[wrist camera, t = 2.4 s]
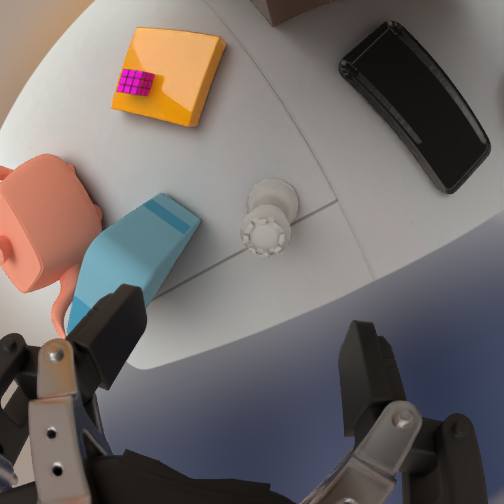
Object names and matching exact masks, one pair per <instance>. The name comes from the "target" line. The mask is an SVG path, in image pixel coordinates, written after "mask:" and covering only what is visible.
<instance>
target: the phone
mask: <svg viewBox="0 0 504 504" xmlns="http://www.w3.org/2000/svg"><path fill="white" fill-rule="evenodd" d="M339 71H340V74H341V75H342V76H343V78H344V79H345V80H346V81H348V82H349V83H350V84H351V85H352V86H353V87H354V88H355V89H356V90H357V91H358V92H359V93H360V94H361V95H362V96H363V97H364V98H365V99H366V100H367V101H368V102H369V103H370V104H371V105H372V106H373V108H374V109H375V110H376V111H377V112H378V113H379V114H380V115H381V116H382V117H383V118H384V120H385V121H386V122H387V123H388V124H389V125H390V126H391V128H392V129H393V130H394V131H395V132H396V133H397V135H398V136H399V137H400V138H401V139H402V141H403V142H404V143H405V144H406V146H407V147H408V148H409V149H410V151H411V152H412V153H413V155H414V156H415V157H416V159H417V160H418V161H419V163H420V164H421V165H422V167H423V168H424V169H425V171H426V172H427V174H428V175H429V177H430V178H431V179H432V181H433V182H434V184H435V185H436V187H437V188H438V189H439V190H441V191H442V192H444V193H446V194H453V193H454V192H456V191H457V190H458V189H459V188H460V186H461V185H462V184H463V183H464V182H465V181H466V180H467V179H468V178H469V177H470V176H471V175H472V174H473V172H474V171H475V170H476V169H477V168H478V167H479V166H480V165H481V164H482V162H483V161H484V160H485V159H486V158H487V157H488V155H489V154H490V151H491V144H490V141H489V138H488V137H487V135H486V133H485V131H484V130H483V128H482V126H481V124H480V123H479V121H478V119H477V118H476V116H475V115H474V113H473V111H472V110H471V108H470V107H469V105H468V104H467V102H466V101H465V99H464V98H463V96H462V95H461V94H460V92H459V91H458V89H457V88H456V87H455V85H454V84H453V83H452V81H451V80H450V79H449V77H448V76H447V75H446V74H445V72H444V71H443V70H442V69H441V67H440V66H439V65H438V64H437V62H436V61H435V60H434V59H433V58H432V57H431V55H430V54H429V53H428V52H427V51H426V50H425V49H424V48H423V47H422V45H421V44H420V43H419V42H418V41H417V40H416V39H415V38H414V37H413V36H412V35H411V34H410V33H409V32H408V31H407V30H406V29H405V28H404V27H403V26H402V25H401V24H399V23H397V22H395V21H386V22H385V23H383V24H382V25H381V26H380V27H378V28H377V29H376V30H375V31H374V32H372V33H371V34H370V35H369V36H368V37H367V38H365V39H364V40H363V41H362V42H361V43H360V44H358V45H357V46H356V47H355V48H354V49H353V50H352V51H351V52H349V53H348V54H347V55H346V56H345V57H344V58H343V59H342V61H341V62H340V64H339Z"/></svg>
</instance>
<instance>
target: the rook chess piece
mask: <svg viewBox="0 0 504 504" xmlns="http://www.w3.org/2000/svg"><path fill="white" fill-rule="evenodd" d="M246 205H247V213H248V215H247V216H246V217H245V218H244V219H243V221H242V225H241V228H240V232H241V238H242V240H243V242H244V244H245V245H246V247H248V250H249V251H251V252H252V253H253V254H255V253H257V254H260V255H262V257H269V256H270V255H274V254H277V253H279V252H281V251H282V250H283V249H284V248H285V247H286V246H287V245H288V243H289V240H290V238H291V227H290V224H291V223H292V222H293V221H294V220H295V217H296V215H297V212H298V209H299V201H298V196H297V194H296V192H295V190H294V188H292V187H291V186H290V185H289V184H288V183H287V182H285V181H282V180H279V179H265V180H263V181H261V182H258V183H256V185H255V186H254V187H253V188H252V189H251V190H250V192H249V196H248V199H247V202H246Z"/></svg>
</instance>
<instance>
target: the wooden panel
mask: <svg viewBox="0 0 504 504" xmlns="http://www.w3.org/2000/svg"><path fill="white" fill-rule="evenodd" d="M250 1H251V2H252V3H253V4H254V5H255V7H256V8H257V9H258V10H259V11H260V12H261V13H262V15H263V16H264V17H265V18H266V19H267V21H268V22H269V23H270V24H271V25H272V26H275V25H277V24H279V23H281V22H283V21H285V20H288V19H290V18H292V17H294V16H296V15H299V14H301V13H303V12H306V11H308V10H310V9H313V8H315V7H318V6H320V5H323V4H326V3H328V2H331V1H334V0H250Z"/></svg>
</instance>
